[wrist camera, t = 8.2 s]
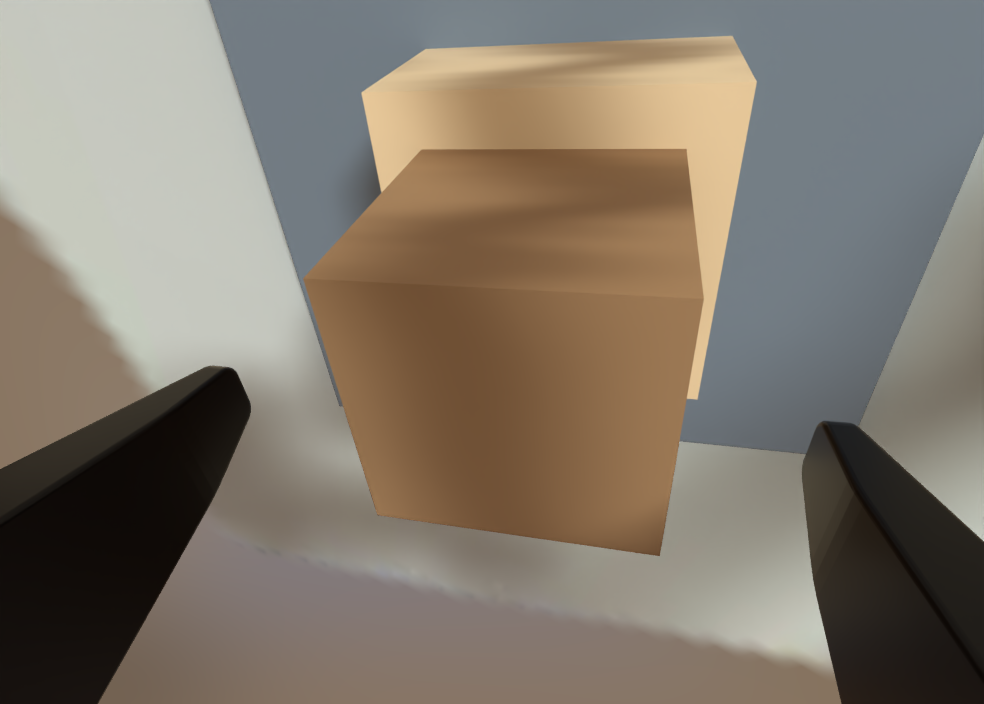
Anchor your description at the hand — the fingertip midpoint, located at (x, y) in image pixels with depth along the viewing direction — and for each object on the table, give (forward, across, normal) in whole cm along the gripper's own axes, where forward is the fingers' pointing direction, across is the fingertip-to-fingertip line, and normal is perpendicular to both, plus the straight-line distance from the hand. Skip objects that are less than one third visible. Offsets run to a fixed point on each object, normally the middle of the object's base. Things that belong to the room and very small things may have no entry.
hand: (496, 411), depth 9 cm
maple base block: (+9, 0, 0) cm, 9 cm away
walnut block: (+5, 0, 0) cm, 5 cm away
